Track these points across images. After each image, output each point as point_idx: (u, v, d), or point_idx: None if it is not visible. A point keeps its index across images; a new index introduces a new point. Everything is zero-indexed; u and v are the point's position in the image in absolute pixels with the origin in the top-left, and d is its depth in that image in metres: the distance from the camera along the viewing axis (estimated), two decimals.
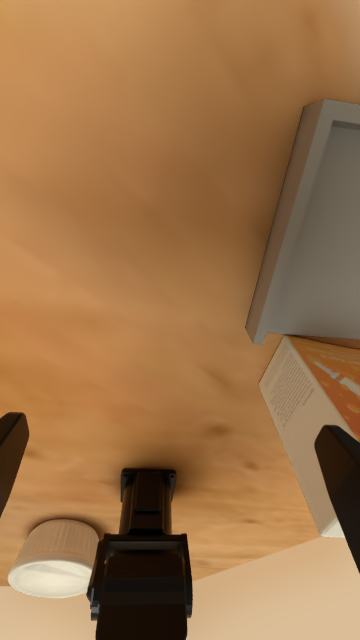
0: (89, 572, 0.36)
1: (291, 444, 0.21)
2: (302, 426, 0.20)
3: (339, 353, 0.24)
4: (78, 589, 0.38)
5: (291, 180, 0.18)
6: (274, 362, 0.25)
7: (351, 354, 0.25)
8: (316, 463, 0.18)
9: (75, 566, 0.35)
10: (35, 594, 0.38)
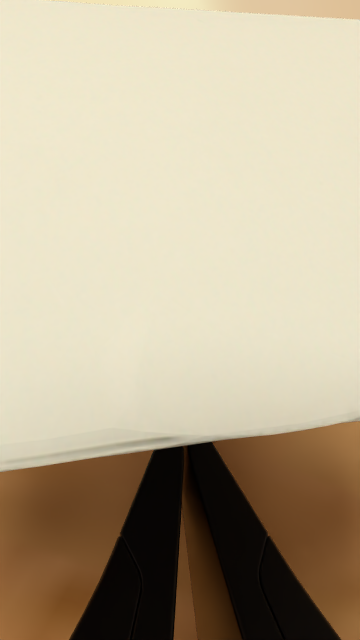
0: None
1: None
2: None
3: None
4: None
5: None
6: None
7: None
8: None
9: None
10: None
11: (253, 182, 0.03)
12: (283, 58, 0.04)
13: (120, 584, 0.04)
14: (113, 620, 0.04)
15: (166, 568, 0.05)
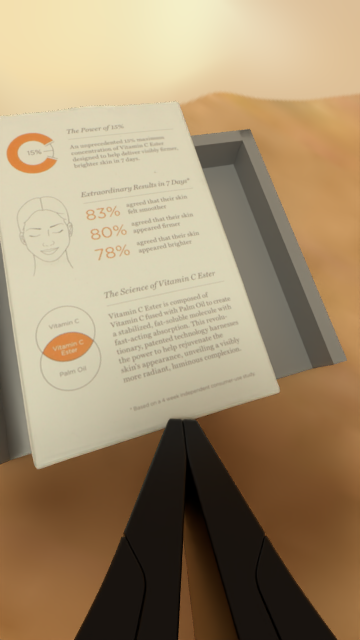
0: None
1: None
2: None
3: None
4: None
5: None
6: None
7: None
8: None
9: None
10: None
11: None
12: None
13: (124, 584, 0.04)
14: (117, 620, 0.04)
15: (170, 568, 0.05)
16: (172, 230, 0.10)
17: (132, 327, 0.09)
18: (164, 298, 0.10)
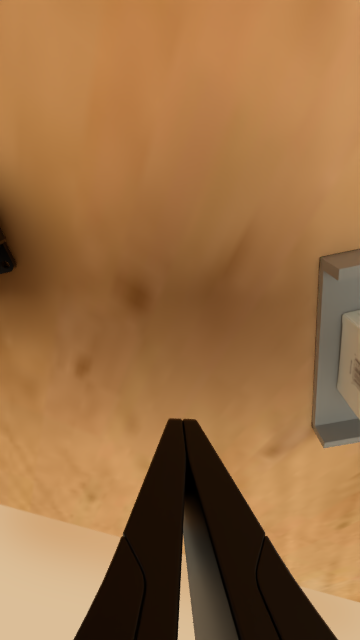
0: None
1: None
2: None
3: None
4: None
5: None
6: None
7: None
8: None
9: None
10: None
11: None
12: None
13: (124, 584, 0.04)
14: (117, 620, 0.04)
15: (169, 568, 0.05)
16: None
17: None
18: None
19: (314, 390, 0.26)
